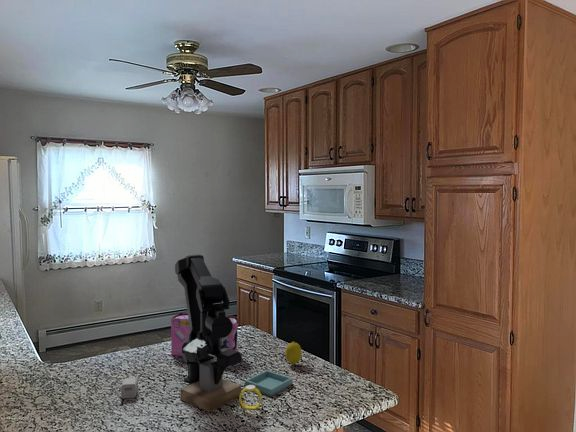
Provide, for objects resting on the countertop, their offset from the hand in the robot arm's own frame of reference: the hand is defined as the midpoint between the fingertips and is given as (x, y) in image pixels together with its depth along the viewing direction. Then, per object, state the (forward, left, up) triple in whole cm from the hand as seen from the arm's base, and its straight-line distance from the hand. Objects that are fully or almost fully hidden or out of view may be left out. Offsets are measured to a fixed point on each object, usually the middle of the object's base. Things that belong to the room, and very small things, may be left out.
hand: (211, 381), depth 128 cm
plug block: (0, 0, -2) cm, 2 cm away
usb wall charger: (-21, -12, -5) cm, 25 cm away
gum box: (-27, +22, -5) cm, 36 cm away
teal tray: (+8, +16, -4) cm, 18 cm away
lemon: (+4, +34, -5) cm, 35 cm away
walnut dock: (0, 0, -4) cm, 4 cm away
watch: (+13, +2, -5) cm, 14 cm away
